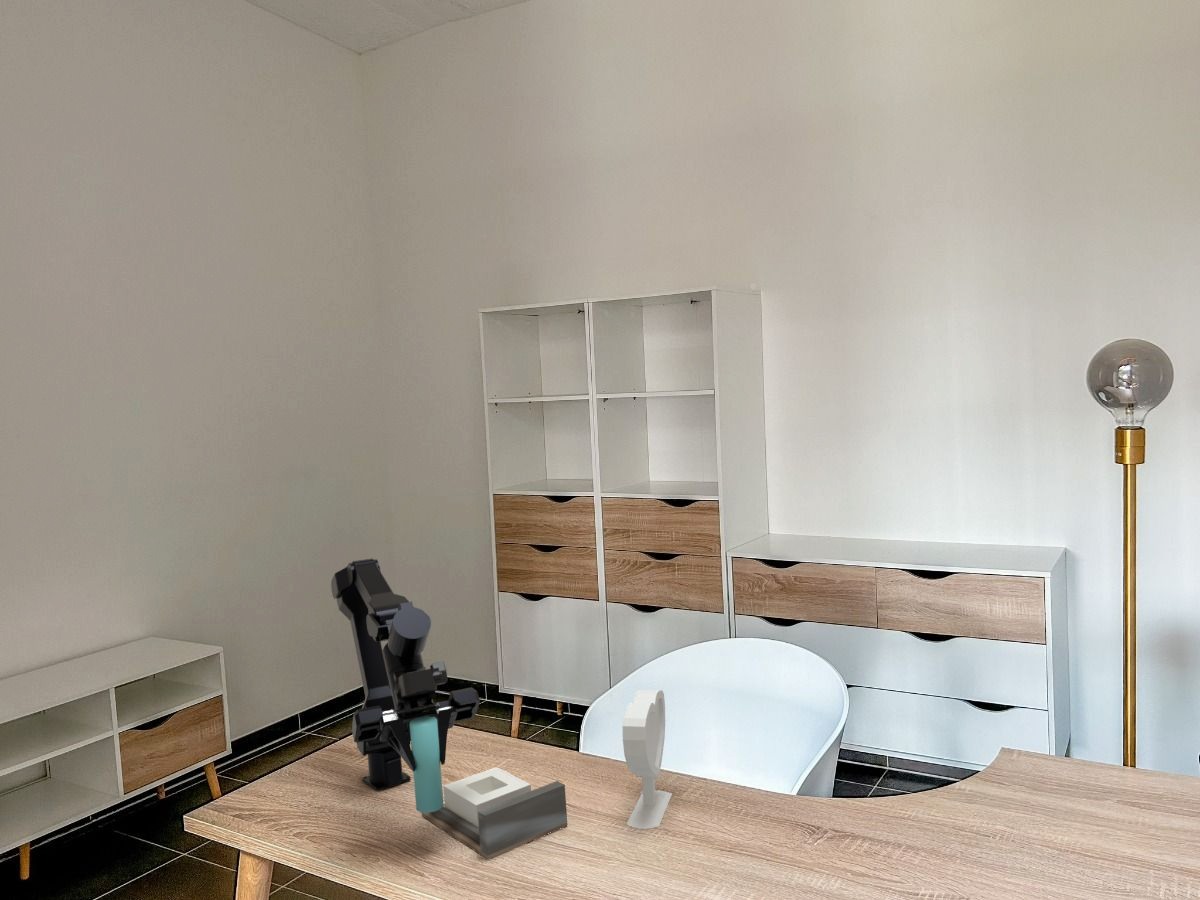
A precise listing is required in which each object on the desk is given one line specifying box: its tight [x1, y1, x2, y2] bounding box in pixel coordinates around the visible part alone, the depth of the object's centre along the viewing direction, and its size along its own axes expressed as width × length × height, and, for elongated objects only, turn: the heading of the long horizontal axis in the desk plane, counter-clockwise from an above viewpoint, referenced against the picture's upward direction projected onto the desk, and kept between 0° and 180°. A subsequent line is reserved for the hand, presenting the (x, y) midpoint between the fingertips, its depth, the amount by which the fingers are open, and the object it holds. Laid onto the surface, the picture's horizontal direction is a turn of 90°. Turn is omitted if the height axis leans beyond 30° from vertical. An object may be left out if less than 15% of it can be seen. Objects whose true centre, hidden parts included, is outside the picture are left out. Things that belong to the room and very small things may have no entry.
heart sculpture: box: [621, 689, 673, 830], centre depth 152 cm, size 16×5×18 cm, turn 165°
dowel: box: [410, 717, 445, 814], centre depth 142 cm, size 4×4×13 cm
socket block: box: [442, 766, 532, 829], centre depth 152 cm, size 10×10×5 cm
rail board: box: [421, 780, 568, 860], centre depth 151 cm, size 20×14×7 cm
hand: (428, 766), depth 141 cm, fingers closed on dowel, 4 cm apart
